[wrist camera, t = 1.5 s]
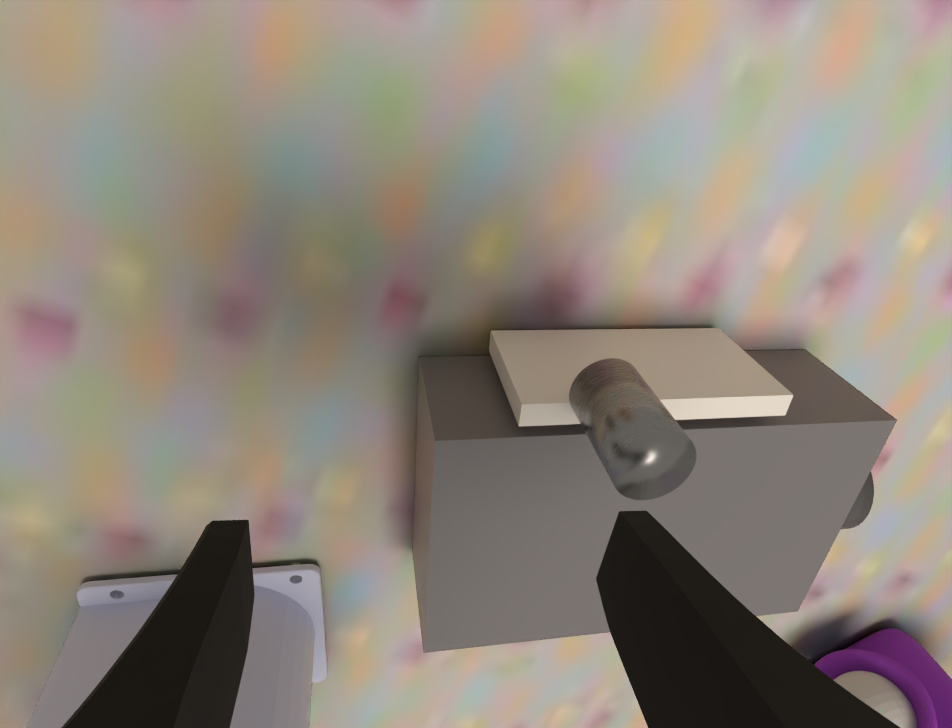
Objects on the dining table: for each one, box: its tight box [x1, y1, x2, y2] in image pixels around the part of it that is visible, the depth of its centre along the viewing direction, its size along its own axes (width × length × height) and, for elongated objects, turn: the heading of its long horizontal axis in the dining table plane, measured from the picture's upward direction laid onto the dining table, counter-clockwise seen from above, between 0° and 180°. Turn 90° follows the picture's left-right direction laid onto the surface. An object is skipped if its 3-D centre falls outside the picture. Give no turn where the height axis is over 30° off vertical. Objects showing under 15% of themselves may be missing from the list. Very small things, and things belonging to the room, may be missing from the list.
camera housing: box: [412, 350, 897, 653], centre depth 24 cm, size 18×10×5 cm, turn 85°
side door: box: [489, 328, 793, 500], centre depth 19 cm, size 9×2×8 cm, turn 85°
